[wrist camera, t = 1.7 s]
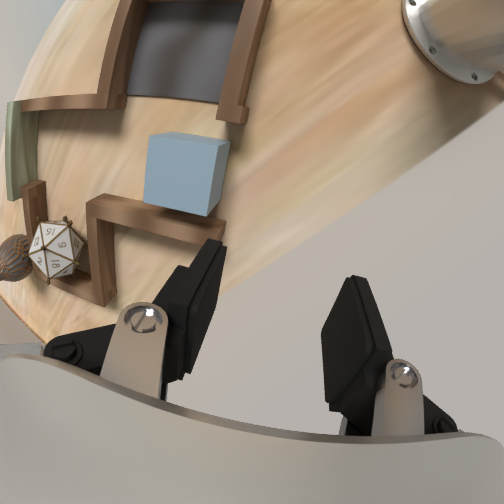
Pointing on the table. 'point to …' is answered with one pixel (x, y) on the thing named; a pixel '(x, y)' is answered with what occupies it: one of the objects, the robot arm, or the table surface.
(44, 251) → the game die
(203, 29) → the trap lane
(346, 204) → the table surface
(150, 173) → the slate block
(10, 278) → the vase
